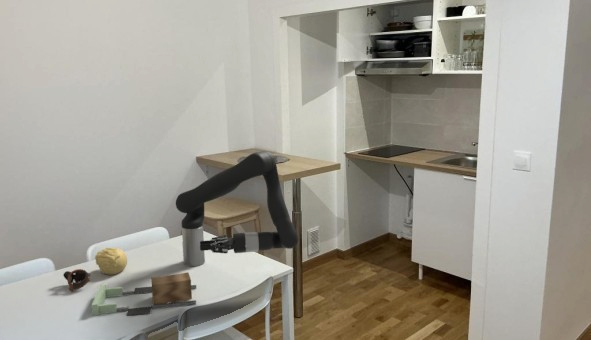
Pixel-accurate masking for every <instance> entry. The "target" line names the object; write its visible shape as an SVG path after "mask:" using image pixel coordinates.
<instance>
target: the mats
mask: <svg viewBox="0 0 591 340" xmlns="http://www.w3.org/2000/svg"><path fill="white" fill-rule="evenodd" d="M133 291H134V293H133V294H132V295H139V294H140V295H141V294H150V293H151V294H152V285H150V286H142V287H141V286H139V287H135V288H134V289H133ZM126 312H127V313H126V317H129V316H130V317H131V316H141V315H150V314H151V312H152V309H151V305H150V306H141V307H130V308H129V309H128V311H126Z"/></svg>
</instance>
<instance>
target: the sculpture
mask: <svg viewBox="0 0 591 340" xmlns="http://www.w3.org/2000/svg"><path fill="white" fill-rule="evenodd" d="M94 259H95V263H96V265H97V266H98V269H100V271H101V273H103V274H105V275H108V276H109V275H117V274H119V273H121V272H123V271H124V270H125V269H126V267H127V265H128V257H127V254H126V253H125V251H123V250H122V249H121V248H118V247H106V248H104V249H101V250H100V251H98V252H97V253H96V255H95V257H94Z"/></svg>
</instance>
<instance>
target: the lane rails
mask: <svg viewBox="0 0 591 340" xmlns="http://www.w3.org/2000/svg"><path fill="white" fill-rule="evenodd" d="M195 289H197V284H193V285H192V284H191V290H195ZM133 293H134V290H126V291H123V292H122V295H121V296H130V295H134V294H133ZM192 304H194V305H196V304H197V300H182V301H176V302H170V303H162V304H150V306H151V310H152V309H162V308H170V307H172V308H173V307H181V306H192ZM128 309H129V306H122V307H121V306H120V307H117V309H116V310H117V312H116V313H118V312H119V313H120V312H121V313H122V312H128Z"/></svg>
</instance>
